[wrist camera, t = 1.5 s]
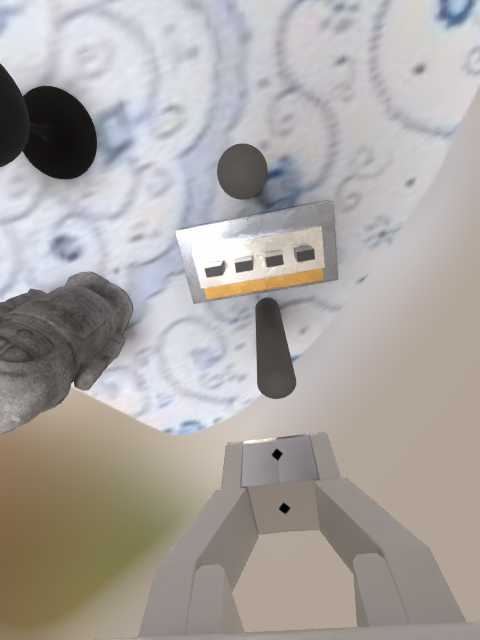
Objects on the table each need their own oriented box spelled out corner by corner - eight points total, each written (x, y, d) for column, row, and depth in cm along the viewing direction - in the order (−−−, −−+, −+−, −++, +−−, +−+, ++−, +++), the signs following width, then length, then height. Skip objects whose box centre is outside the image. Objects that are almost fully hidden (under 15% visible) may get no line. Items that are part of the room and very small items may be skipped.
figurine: (126, 350, 51) (20, 480, 27) (45, 306, 48) (-147, 408, 25) (152, 304, 47) (56, 408, 24) (66, 254, 45) (-133, 317, 22)
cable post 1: (231, 171, 40) (212, 149, 21) (258, 165, 39) (263, 138, 21) (236, 200, 41) (222, 203, 23) (262, 195, 41) (270, 194, 22)
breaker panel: (181, 228, 43) (171, 232, 37) (325, 200, 41) (337, 201, 35) (198, 295, 46) (190, 308, 41) (331, 272, 44) (342, 283, 39)
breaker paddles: (207, 263, 38) (204, 268, 36) (309, 245, 37) (314, 248, 34) (209, 272, 39) (206, 278, 36) (310, 254, 37) (315, 259, 35)
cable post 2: (253, 300, 46) (254, 368, 28) (277, 296, 46) (293, 363, 28) (257, 321, 48) (260, 400, 29) (280, 318, 47) (298, 396, 29)
